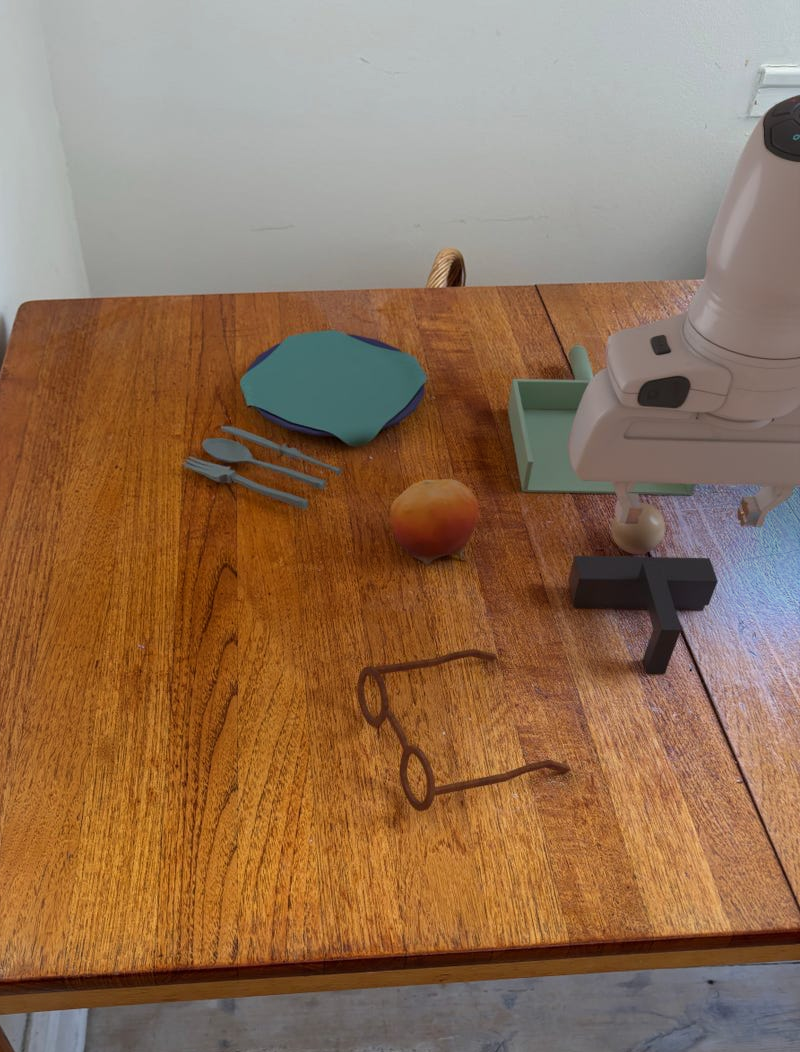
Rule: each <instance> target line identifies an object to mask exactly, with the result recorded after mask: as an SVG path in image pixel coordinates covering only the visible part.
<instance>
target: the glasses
mask: <svg viewBox="0 0 800 1052" xmlns="http://www.w3.org/2000/svg"><path fill="white" fill-rule="evenodd" d="M470 657H472V658H475V659H480V660H485V661H488V662H489V661H490V662H494V661H495V660H496V659H497V658H498V656H497V654H496V653H493V652H489V651H486V650H480V649H476V648H471V649H466V650H460V651H459V650H458V651H453V652H450V653H447V654H444V655H440V656H438V657H432V658H425V659H419V660H411V661H405V662H397V663H391V664H383V665H376V666H372V665H368V666H364V667H363V668H362V669H361V670H360V672H359V675H358V679H357V684H356V693H357V695H356V696H357V701H358V702H357V703H358V706H359V708H360V712H361V714H362V716H363V718H364V720H365V721H366V723H367V724H368V725H369V726H371V727H372V728H377V727H381V726H382V725H383V724H384V722H385V721H386V719H387V721H388V722H389V724H390V726H391V728H392V729H393V731H394V733H395V735H396V737H397V739H398V741H399V743H400V746H401V749H402V752H401V756H400V761H399V770H398V771H399V780H400V784H401V787H402V790H403V793H404V796H405V798H406V799H407V801H408V803H409V805H411V807H412V808H413V809H414V810H416V811H417V812H424V811H427V810H428V809H430V807H431V806H432V804H433V803H434V799H435V797H436V796H441V795H445V794H451V793H455V792H461V791H465V790H470V789H475V788H476V789H477V788H481V787H485V786H490V785H495V784H496V785H497V784H500V783H506V782H508V781H511V780H513V779H516V778H518V777H520V776H523V775H524V774H528V773H531V772H535V771H538V770H542V769H549V770H552V771H556V772H558V773H563V774H566V773H568V772H570V771H571V770H572V768H571V766H570V765H569V764H565V763H562V762H559V761H555V760H552V759H546V760H541V761H537V762H533V763H528V764H525V765H523V766H519V767H516V768H515V769H511V770H509V771H507V772H503V773H498V774H492V775H487V776H483V777H478V778H473V779H468V780H463V781H458V782H452V783H448V784H442V785H438V786H436V780H435V775H434V771H433V767H432V765H431V763H430V761H429V758H428V756H427V755H426V753H425V752H424V751H423V750H422V748H421V747H419V746H417V745H415V744H409V741H408V737H407V735H406V733H405V731H404V729H403V727H402V726H401V724H400V722H399V720H398V719H397V716H396V715H395V714H394V713H393V711H391V710H390V701H389V695H388V690H387V686H386V684H385V680H384V678H383V676H382V675H384V674H391V673H398V672H406V671H410V670H411V671H412V670H419V669H425V668H432V667H437V666H440V665H443V664H447V663H449V662H452V661H456V660H461V659H466V658H470ZM367 677H372V678H373V679H374V681H375V683H376V685H377V688H378V691H379V695H380V710H379V713H378V716H377V717H376V718H375V717H374V716H373V715H372V713H371V712H370V709H369V708H368V705H367V702H366V696H365V685H366V680H367ZM412 755H414V756H415V758H417V760H418V761H419V763H420V764H421V766H422V769H423V772H424V775H425V779H426V780H425V781H426V791H425V792H426V793H425V797H424V798H423V801H422V802H421V801H420V800H418V799H417V797H416V795H415V794H414V793H413V792H414V791H413V790H412V788H411V785H410V782H409V779H408V778H409V777H408V764H409V761H410V758H411V756H412Z"/></svg>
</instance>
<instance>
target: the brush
mask: <svg viewBox="0 0 800 1052" xmlns="http://www.w3.org/2000/svg"><path fill="white" fill-rule="evenodd" d="M567 581H568V589H569V595H570V598H571V604H572V608H574V609H613V610H614V609H617V610H618V609H619V610H647V612H648V616H649V619H650V623H651V626H652V631H651V635H650V637H649V640H648V643H647V645H646V648H645V652H644V653H643V657H642V663H643V668H644V671H645V673H646V674H647V675H648V674H649V675H650V674H652V675H666V673H667V672H666V671H667V669H668V666H669V663H670V661H671V658H672V656H673V653H674V651H675V648H676V644H677V642H678V639H679V637H680V634H681V631H682V628H681V625H680V622H679V618H678V615H677V612H676V611H703V610H704V608H705V606H707V607H708V606H709V605H710V602H711V599H712V597H713V595H714V592H715V590H716V587H717V584H718V582H719V580H718V578H717V576H716V571H715V569H714V566H713V563H712V560H711V558H710V557H673V556H672V557H671V556H670V557H667V556H615V555H614V556H613V555H611V556H610V555H573V559H572V562H571V567H570V572H569V575H568V579H567Z"/></svg>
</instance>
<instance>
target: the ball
mask: <svg viewBox="0 0 800 1052" xmlns="http://www.w3.org/2000/svg"><path fill="white" fill-rule="evenodd" d="M640 502H641V505H642V512H641V515H640V516H639V521H638V523H637V524H628V523H618V522H617V519H616V515H615V514H614V517H612V518H613V519H612V522H611V526H610V528H611V529H610V530H611V531H610V532H611V536H612V539H613V542H614V543H615V544H616V546H617V547H618V548H619V549H621V550H622V551H624V552H626V553H628V554H632V555H641V554H642V555H643V554H646V553H649V552H652V551H653V550H654V549H655V548H657V547H658V545H660V544H661V542H662V540H663V538H664V536H665V532H666V524H665V519H664V516H663V515H662V513H661V512H660V511H659V510H658V508H656V507H655V506H654V505H652V504H650V503H647V502H642V501H640Z"/></svg>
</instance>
